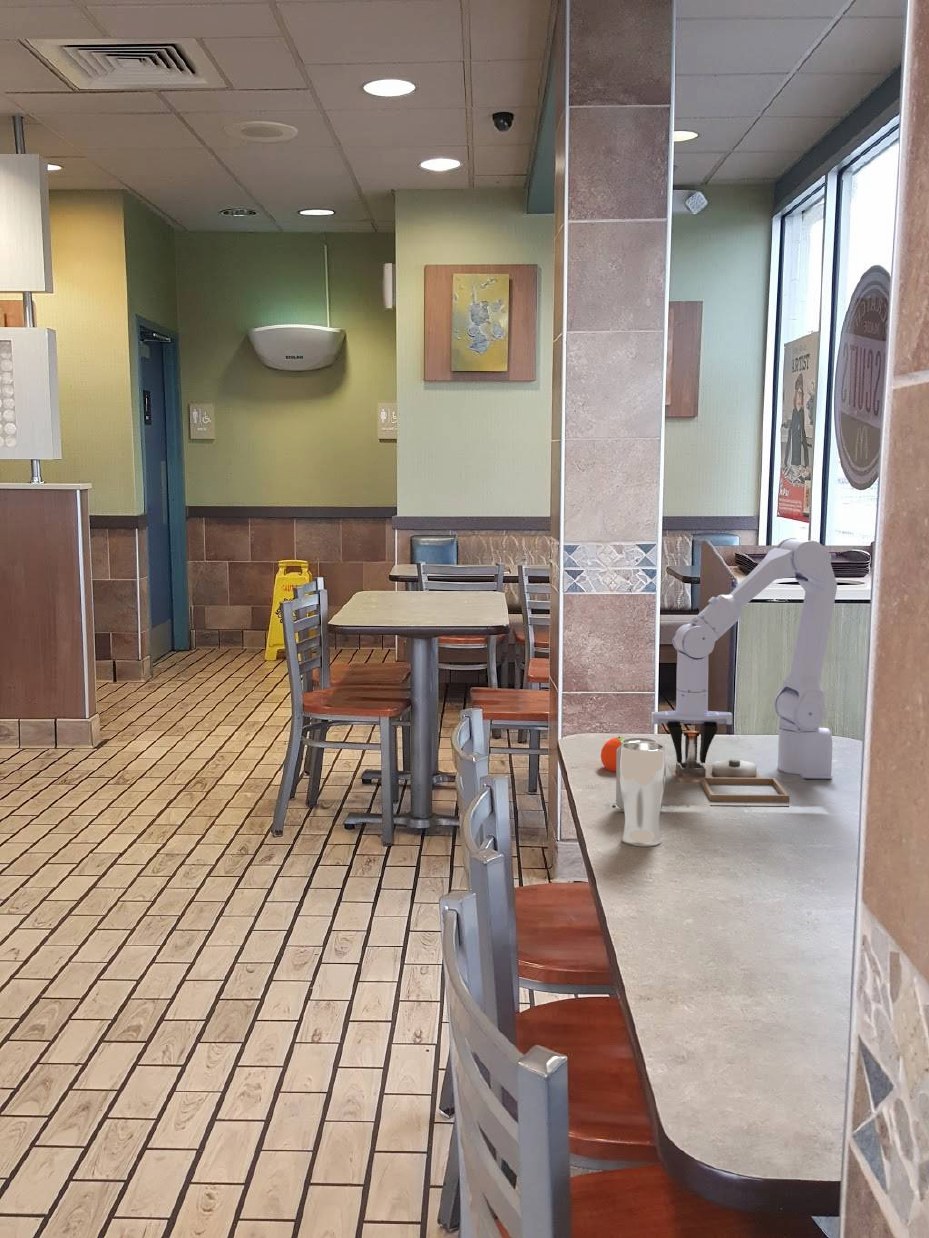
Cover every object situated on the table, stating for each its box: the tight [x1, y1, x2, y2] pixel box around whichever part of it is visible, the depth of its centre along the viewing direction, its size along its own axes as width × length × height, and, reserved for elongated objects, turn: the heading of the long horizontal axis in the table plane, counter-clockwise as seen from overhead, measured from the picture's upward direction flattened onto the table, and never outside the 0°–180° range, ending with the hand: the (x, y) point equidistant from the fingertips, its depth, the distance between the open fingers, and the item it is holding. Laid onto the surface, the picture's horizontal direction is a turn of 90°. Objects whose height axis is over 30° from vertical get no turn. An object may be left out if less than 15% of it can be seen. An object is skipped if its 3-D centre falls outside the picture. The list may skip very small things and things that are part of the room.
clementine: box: [600, 736, 626, 773], centre depth 212 cm, size 8×7×7 cm
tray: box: [700, 777, 790, 808], centre depth 196 cm, size 13×11×2 cm
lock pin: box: [683, 730, 700, 768], centre depth 208 cm, size 3×3×8 cm
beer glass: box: [620, 741, 667, 848], centre depth 172 cm, size 7×7×15 cm
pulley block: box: [667, 759, 763, 783], centre depth 208 cm, size 16×12×3 cm
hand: (690, 761), depth 208 cm, fingers open, 4 cm apart
